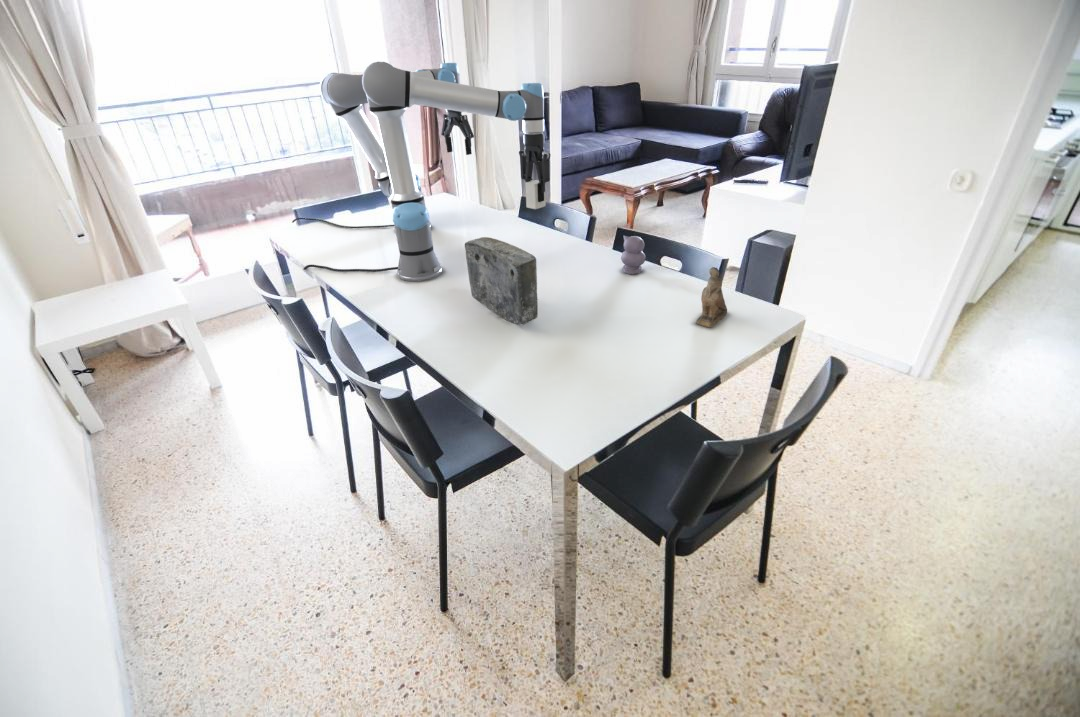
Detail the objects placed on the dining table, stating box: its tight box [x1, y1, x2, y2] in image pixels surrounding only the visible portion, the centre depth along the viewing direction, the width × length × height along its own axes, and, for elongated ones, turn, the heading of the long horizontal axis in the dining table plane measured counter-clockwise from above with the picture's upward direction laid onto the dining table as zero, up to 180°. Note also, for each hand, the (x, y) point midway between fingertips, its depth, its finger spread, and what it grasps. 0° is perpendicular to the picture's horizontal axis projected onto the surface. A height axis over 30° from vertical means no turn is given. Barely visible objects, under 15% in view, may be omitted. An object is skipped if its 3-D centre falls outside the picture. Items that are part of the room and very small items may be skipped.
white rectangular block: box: [525, 179, 547, 210], centre depth 186 cm, size 5×6×9 cm
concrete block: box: [464, 236, 539, 326], centre depth 141 cm, size 27×9×20 cm, turn 36°
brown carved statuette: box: [695, 266, 728, 328], centre depth 135 cm, size 12×6×18 cm, turn 136°
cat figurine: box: [620, 234, 646, 275], centre depth 168 cm, size 9×8×12 cm
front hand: (535, 200), depth 187 cm, fingers closed on white rectangular block, 5 cm apart
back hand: (459, 153), depth 234 cm, fingers open, 13 cm apart
